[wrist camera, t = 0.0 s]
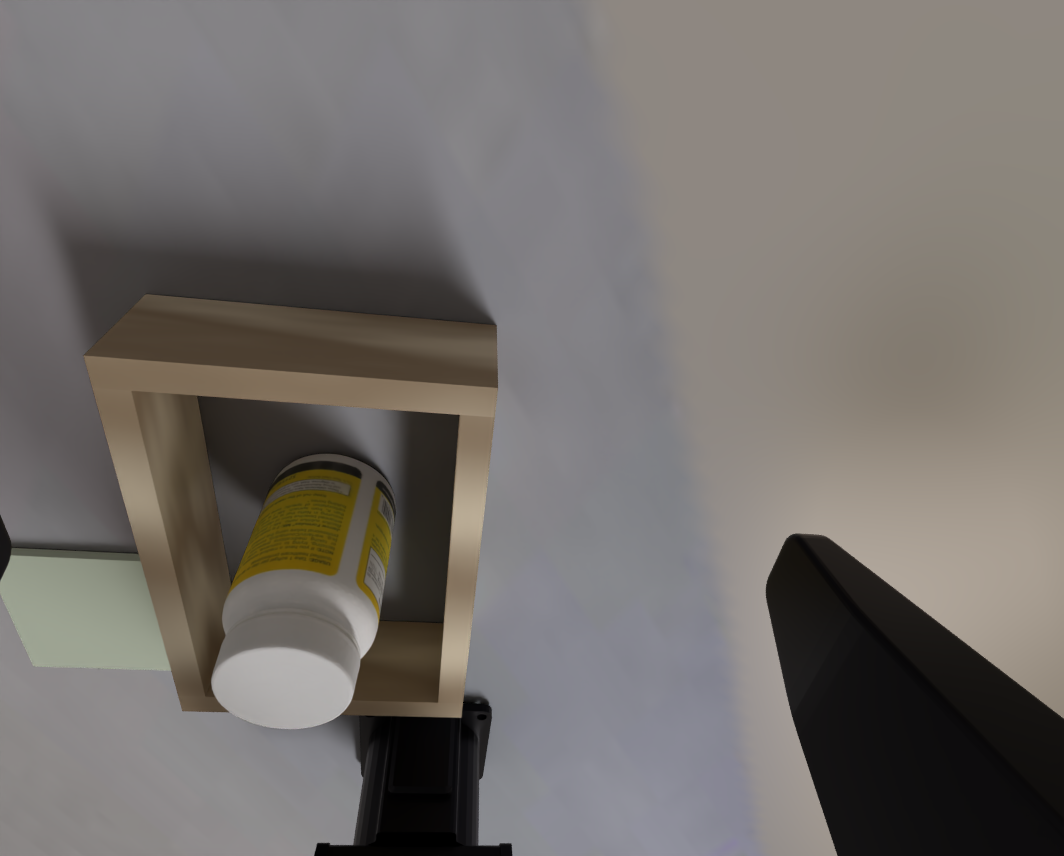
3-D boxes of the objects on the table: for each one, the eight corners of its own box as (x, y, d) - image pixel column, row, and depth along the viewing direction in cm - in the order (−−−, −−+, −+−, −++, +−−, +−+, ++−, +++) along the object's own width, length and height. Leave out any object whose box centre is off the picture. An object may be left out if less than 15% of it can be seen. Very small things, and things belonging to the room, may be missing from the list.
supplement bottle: (246, 499, 26) (160, 693, 19) (322, 427, 24) (257, 612, 18) (347, 560, 28) (301, 755, 21) (423, 498, 27) (400, 688, 20)
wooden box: (464, 638, 31) (461, 717, 28) (215, 629, 30) (182, 711, 27) (496, 325, 23) (498, 388, 19) (146, 294, 21) (83, 355, 18)
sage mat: (200, 663, 32) (197, 671, 31) (38, 658, 31) (33, 666, 30) (175, 555, 28) (171, 562, 27) (-12, 546, 27) (-19, 554, 26)
